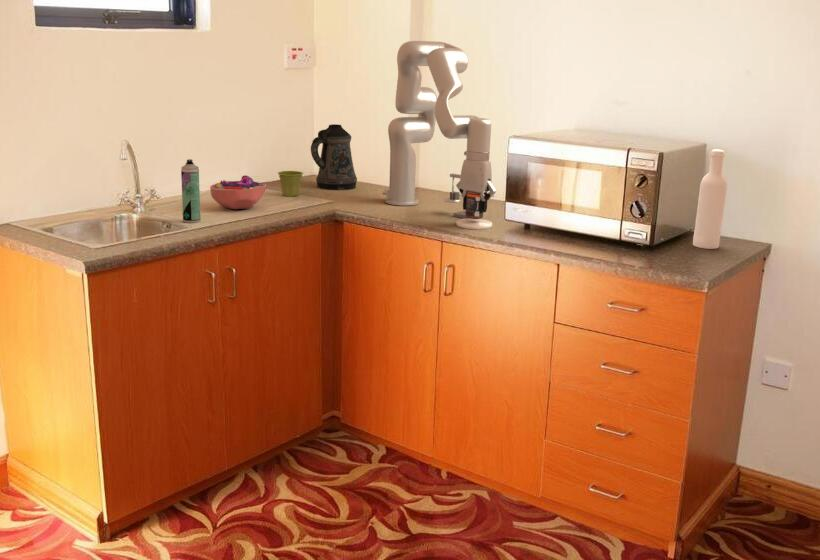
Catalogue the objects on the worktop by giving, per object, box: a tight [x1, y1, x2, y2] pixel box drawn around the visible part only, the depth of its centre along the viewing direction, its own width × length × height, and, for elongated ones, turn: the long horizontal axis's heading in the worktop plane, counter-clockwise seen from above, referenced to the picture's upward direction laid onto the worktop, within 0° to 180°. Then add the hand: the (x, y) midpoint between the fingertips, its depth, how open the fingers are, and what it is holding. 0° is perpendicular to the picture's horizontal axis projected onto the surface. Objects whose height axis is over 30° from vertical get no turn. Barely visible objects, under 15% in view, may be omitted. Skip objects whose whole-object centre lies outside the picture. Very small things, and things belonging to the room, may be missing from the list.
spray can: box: [180, 158, 201, 224], centre depth 277 cm, size 6×6×20 cm
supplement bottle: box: [465, 191, 484, 219], centre depth 286 cm, size 6×6×11 cm
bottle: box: [692, 149, 728, 250], centre depth 266 cm, size 8×8×30 cm
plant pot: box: [277, 170, 304, 198], centre depth 329 cm, size 9×9×9 cm
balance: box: [443, 173, 495, 219], centre depth 300 cm, size 20×6×14 cm, turn 50°
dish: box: [455, 218, 493, 231], centre depth 288 cm, size 12×12×1 cm
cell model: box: [209, 175, 267, 210], centre depth 301 cm, size 17×20×11 cm
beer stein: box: [310, 123, 358, 191], centre depth 347 cm, size 16×19×25 cm
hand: (474, 210), depth 287 cm, fingers closed on supplement bottle, 6 cm apart
